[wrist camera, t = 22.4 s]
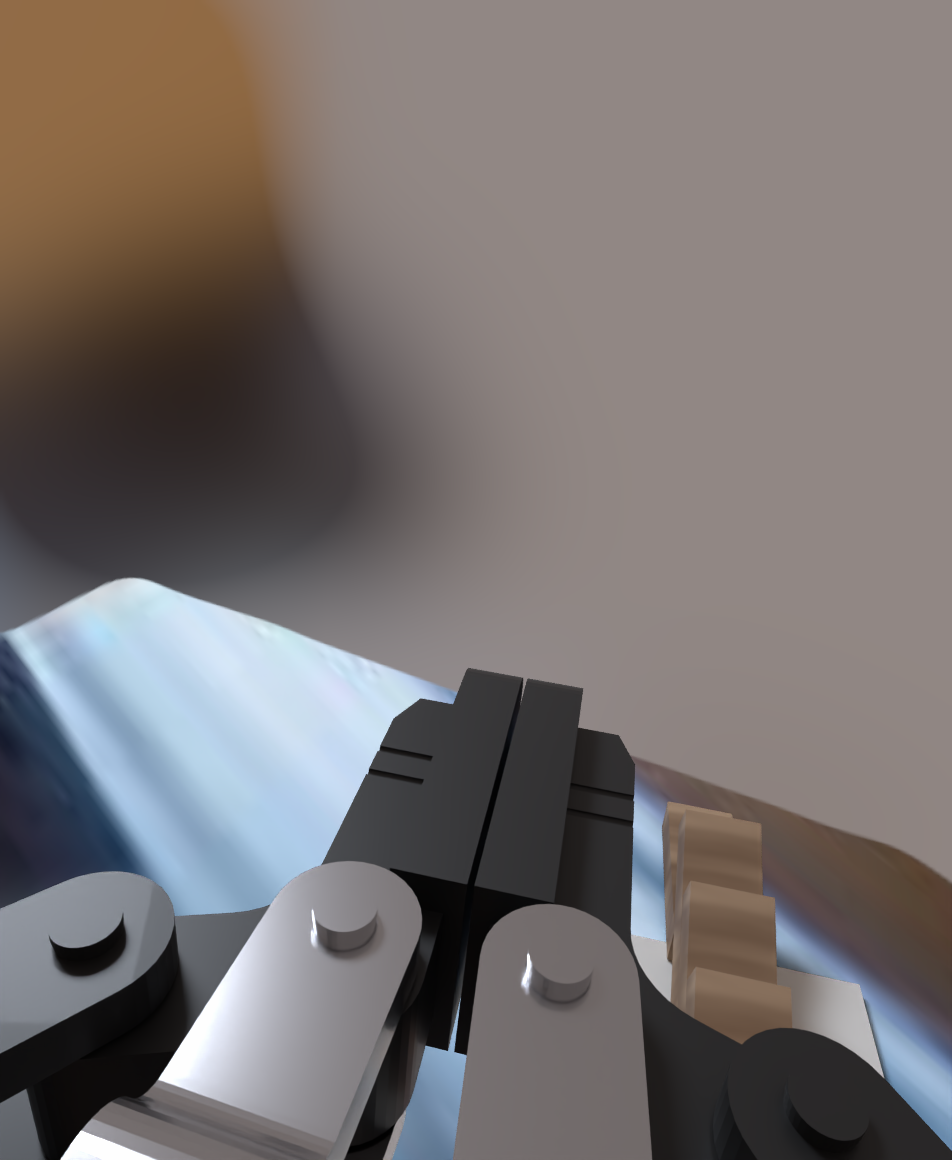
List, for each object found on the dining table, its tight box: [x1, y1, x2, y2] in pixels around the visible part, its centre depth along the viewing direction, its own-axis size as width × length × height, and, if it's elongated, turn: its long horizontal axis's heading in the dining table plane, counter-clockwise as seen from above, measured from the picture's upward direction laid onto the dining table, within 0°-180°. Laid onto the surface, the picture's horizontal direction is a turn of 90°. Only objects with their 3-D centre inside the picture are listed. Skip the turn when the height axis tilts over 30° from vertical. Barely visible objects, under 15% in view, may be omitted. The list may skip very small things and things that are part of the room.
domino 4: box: [685, 967, 792, 1044], centre depth 32 cm, size 2×4×11 cm
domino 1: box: [662, 802, 732, 960], centre depth 47 cm, size 2×4×11 cm
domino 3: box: [678, 881, 777, 1012], centre depth 37 cm, size 2×4×11 cm
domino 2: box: [671, 809, 763, 1007], centre depth 41 cm, size 2×4×11 cm
